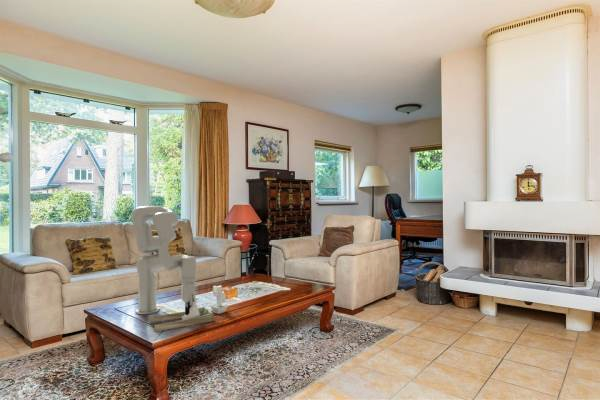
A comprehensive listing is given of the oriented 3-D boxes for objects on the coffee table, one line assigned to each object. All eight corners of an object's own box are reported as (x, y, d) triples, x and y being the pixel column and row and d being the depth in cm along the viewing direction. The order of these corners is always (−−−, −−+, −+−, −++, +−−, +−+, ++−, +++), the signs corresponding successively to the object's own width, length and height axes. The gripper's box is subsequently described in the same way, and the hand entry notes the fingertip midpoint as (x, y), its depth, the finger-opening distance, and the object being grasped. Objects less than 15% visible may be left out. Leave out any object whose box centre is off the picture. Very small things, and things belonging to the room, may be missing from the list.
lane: (149, 323, 191) (149, 315, 191) (204, 313, 207) (204, 306, 207) (154, 331, 180) (154, 323, 179) (213, 320, 196) (213, 313, 196)
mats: (150, 323, 190) (150, 323, 190) (161, 321, 193) (161, 321, 193) (155, 330, 181) (155, 330, 181) (167, 328, 184) (167, 327, 184)
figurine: (219, 315, 204) (219, 288, 204) (208, 311, 210) (208, 285, 210) (229, 312, 210) (229, 286, 210) (218, 308, 216) (218, 283, 215)
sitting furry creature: (197, 317, 201) (196, 294, 204) (205, 317, 195) (204, 294, 197) (181, 320, 195) (180, 296, 197) (189, 320, 189) (188, 296, 191)
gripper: (177, 277, 199) (177, 311, 200) (185, 283, 187) (185, 319, 187) (191, 276, 203) (191, 309, 204) (200, 281, 191) (200, 316, 191)
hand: (188, 314), depth 195 cm, fingers closed
